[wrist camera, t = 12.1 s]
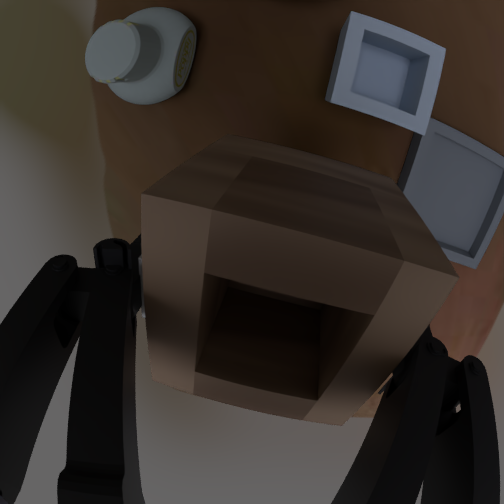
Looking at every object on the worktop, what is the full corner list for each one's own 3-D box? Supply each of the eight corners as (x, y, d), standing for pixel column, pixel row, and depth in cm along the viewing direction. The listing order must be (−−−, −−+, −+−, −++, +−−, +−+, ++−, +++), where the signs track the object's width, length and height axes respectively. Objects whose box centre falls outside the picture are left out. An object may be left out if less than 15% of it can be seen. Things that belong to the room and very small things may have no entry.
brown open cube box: (227, 134, 13) (141, 193, 7) (391, 178, 13) (459, 277, 6) (207, 270, 18) (152, 380, 11) (338, 303, 17) (341, 425, 11)
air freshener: (141, 12, 24) (87, -3, 15) (207, 15, 23) (167, -10, 15) (123, 97, 29) (66, 108, 21) (185, 107, 29) (138, 117, 21)
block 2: (340, 30, 22) (351, 11, 16) (414, 56, 22) (445, 49, 15) (324, 100, 27) (330, 102, 20) (397, 124, 26) (424, 135, 19)
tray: (419, 113, 25) (427, 116, 23) (509, 162, 24) (520, 168, 22) (379, 229, 32) (384, 239, 30) (468, 258, 32) (475, 269, 29)
